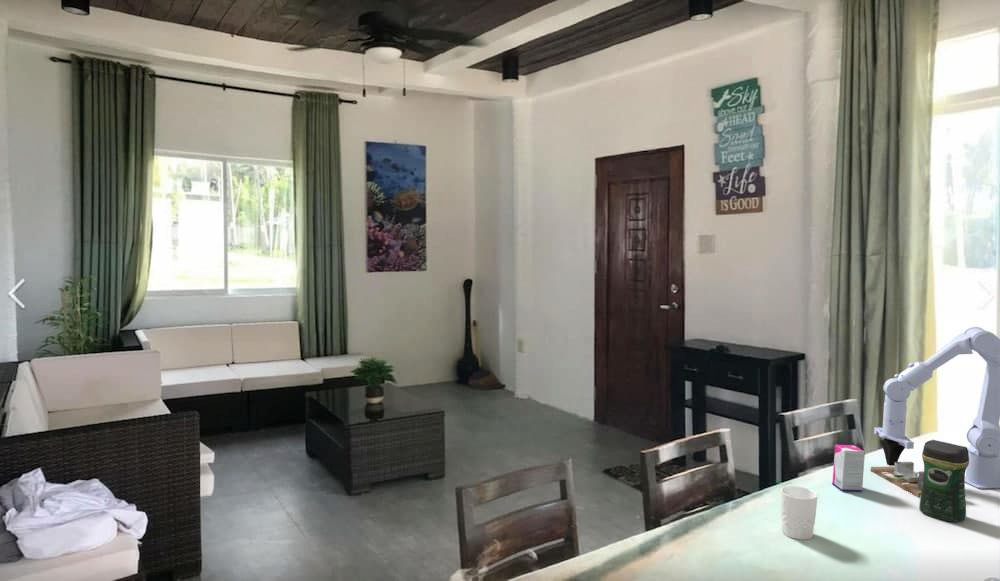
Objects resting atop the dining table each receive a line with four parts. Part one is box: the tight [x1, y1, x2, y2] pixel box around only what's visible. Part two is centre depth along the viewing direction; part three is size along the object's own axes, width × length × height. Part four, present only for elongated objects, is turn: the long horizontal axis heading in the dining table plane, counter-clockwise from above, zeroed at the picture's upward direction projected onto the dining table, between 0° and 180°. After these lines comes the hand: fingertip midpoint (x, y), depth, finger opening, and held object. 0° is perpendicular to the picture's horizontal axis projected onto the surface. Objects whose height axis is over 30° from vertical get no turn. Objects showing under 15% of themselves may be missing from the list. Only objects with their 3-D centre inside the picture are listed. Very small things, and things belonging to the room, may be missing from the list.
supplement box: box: [832, 444, 866, 493], centre depth 187 cm, size 6×6×12 cm
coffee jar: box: [918, 439, 969, 522], centre depth 169 cm, size 10×8×19 cm
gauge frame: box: [870, 465, 924, 498], centre depth 191 cm, size 20×10×6 cm, turn 5°
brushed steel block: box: [894, 461, 920, 482], centre depth 190 cm, size 8×8×4 cm
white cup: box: [780, 485, 819, 541], centre depth 159 cm, size 8×8×10 cm
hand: (891, 465), depth 199 cm, fingers closed
